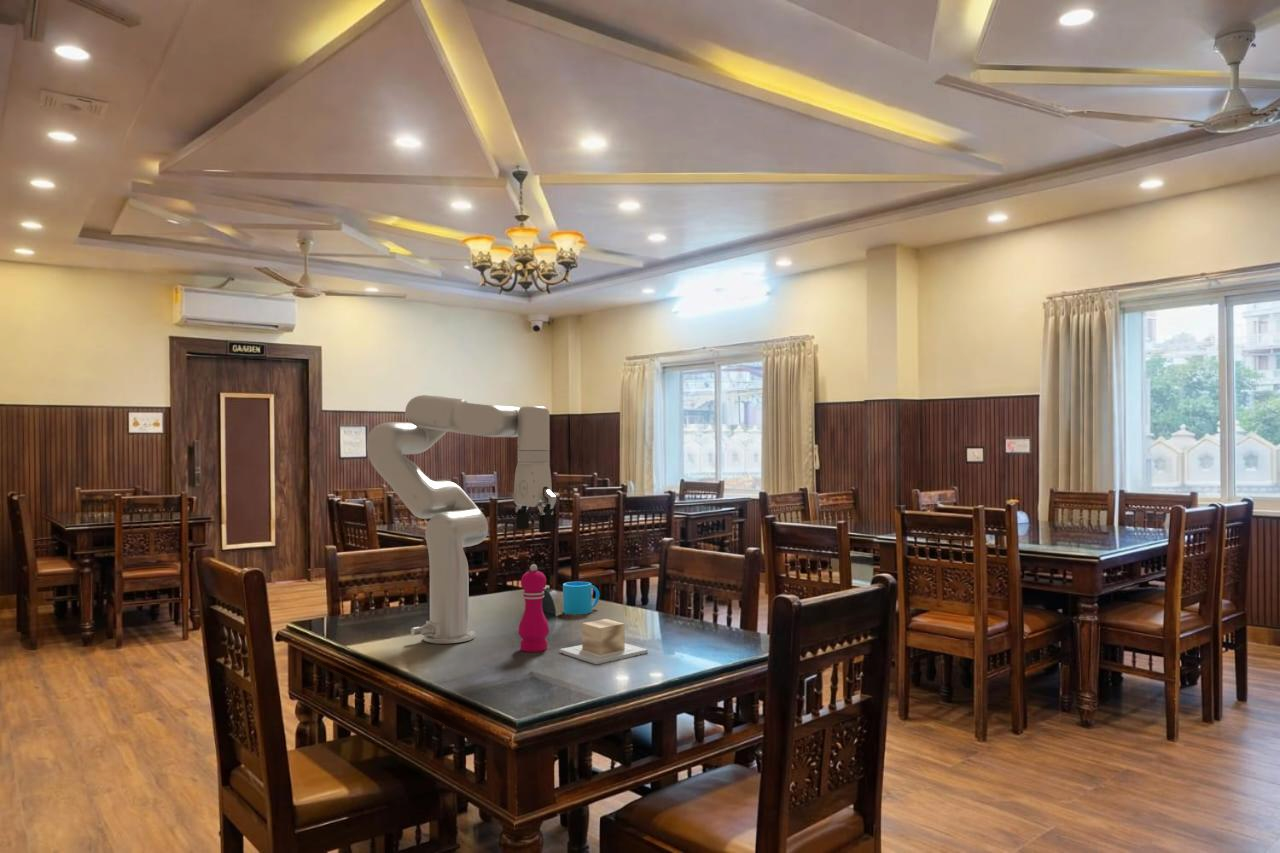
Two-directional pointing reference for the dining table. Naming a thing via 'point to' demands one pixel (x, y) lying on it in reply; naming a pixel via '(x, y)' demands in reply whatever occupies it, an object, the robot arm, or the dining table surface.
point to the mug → (578, 597)
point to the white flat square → (597, 658)
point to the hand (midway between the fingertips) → (533, 530)
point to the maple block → (603, 636)
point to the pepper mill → (533, 612)
